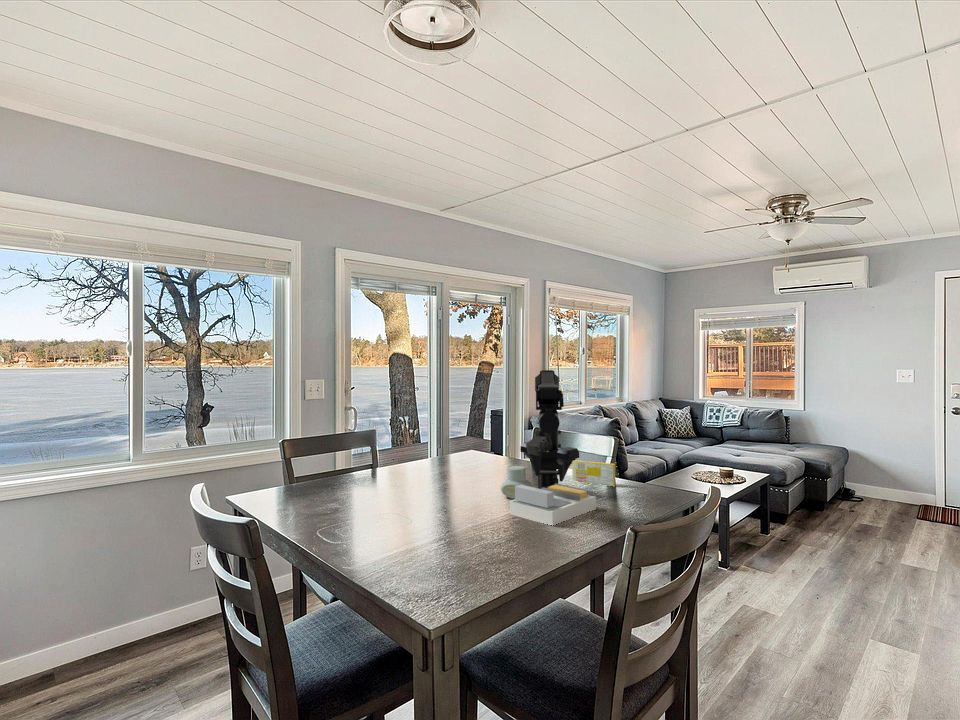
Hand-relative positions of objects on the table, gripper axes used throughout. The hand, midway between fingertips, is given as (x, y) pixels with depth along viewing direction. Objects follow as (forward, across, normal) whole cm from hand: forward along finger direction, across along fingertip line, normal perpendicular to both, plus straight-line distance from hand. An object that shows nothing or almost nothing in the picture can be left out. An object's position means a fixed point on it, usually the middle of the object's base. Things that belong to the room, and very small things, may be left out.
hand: (549, 478), depth 155 cm
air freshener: (+11, -18, +5) cm, 22 cm away
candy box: (+11, -10, +39) cm, 41 cm away
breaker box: (+10, +1, +1) cm, 10 cm away
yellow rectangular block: (+6, +1, +8) cm, 10 cm away
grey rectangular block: (+5, +1, -9) cm, 10 cm away
